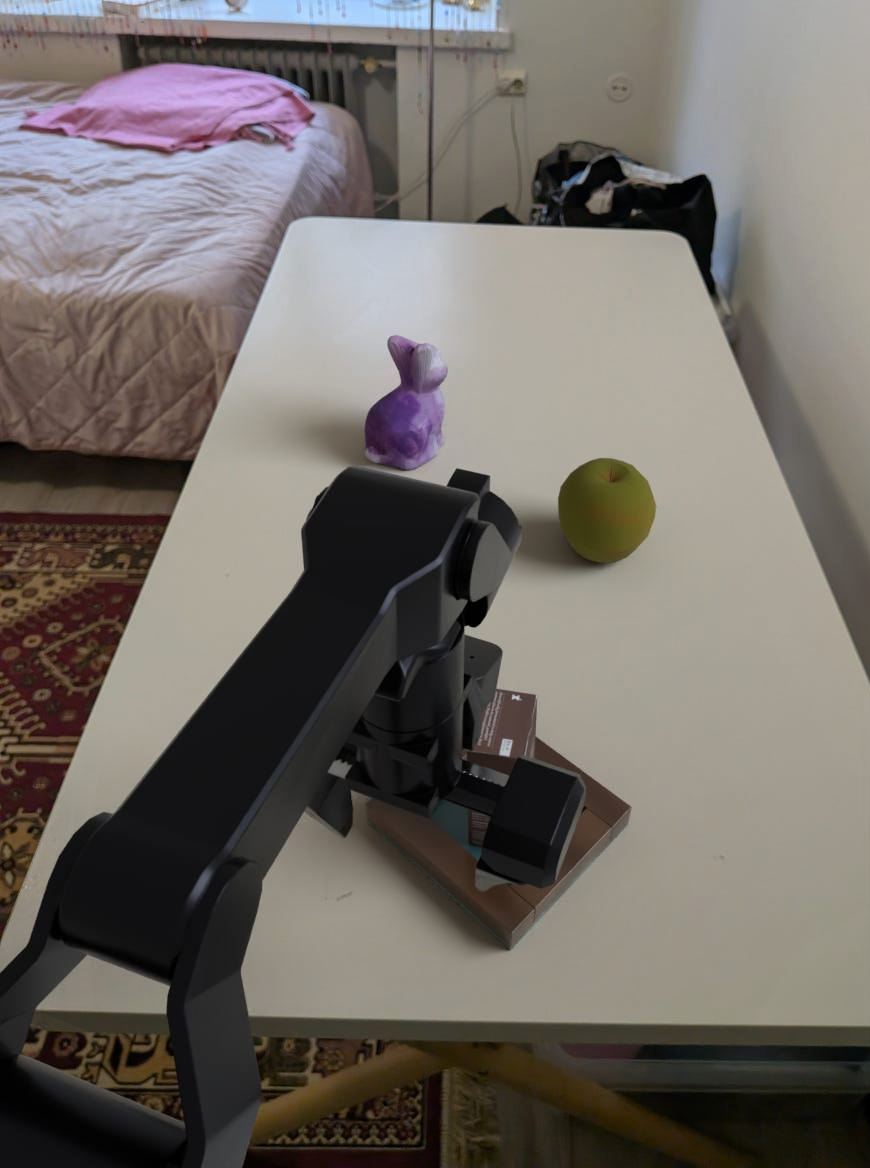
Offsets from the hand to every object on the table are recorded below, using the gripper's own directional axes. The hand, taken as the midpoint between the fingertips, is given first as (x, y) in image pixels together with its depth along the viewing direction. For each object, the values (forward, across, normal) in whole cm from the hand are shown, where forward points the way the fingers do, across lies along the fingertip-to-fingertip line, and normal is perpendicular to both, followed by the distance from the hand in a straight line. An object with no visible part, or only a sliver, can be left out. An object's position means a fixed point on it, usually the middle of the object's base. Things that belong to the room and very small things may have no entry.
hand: (413, 857), depth 58 cm
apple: (+13, +1, -47) cm, 49 cm away
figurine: (+13, +27, -56) cm, 63 cm away
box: (+13, -1, -12) cm, 18 cm away
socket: (+13, -1, -12) cm, 18 cm away
